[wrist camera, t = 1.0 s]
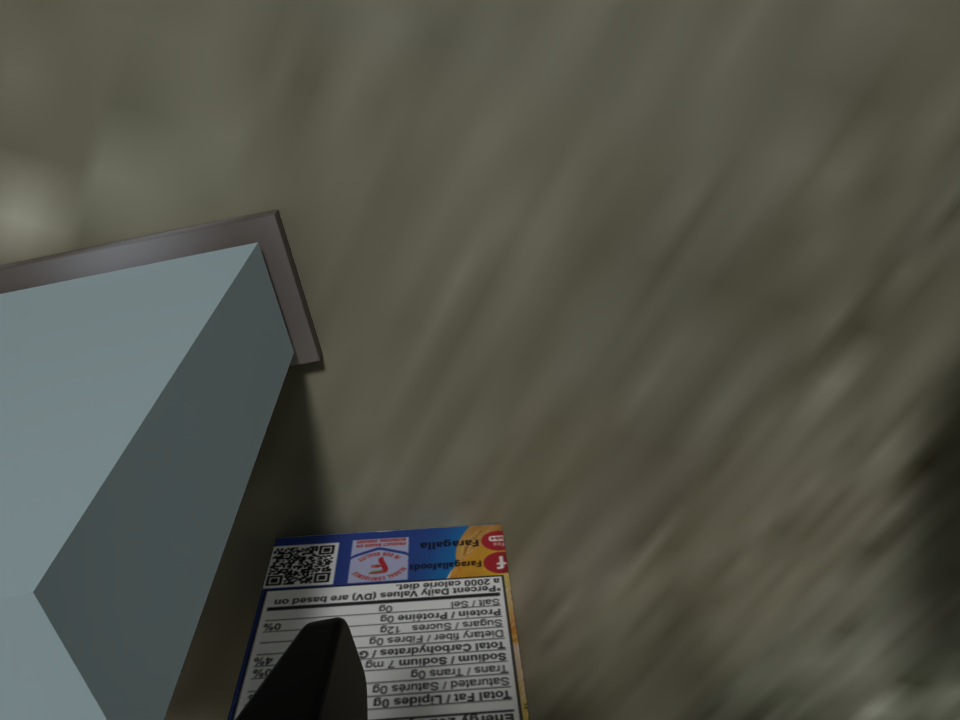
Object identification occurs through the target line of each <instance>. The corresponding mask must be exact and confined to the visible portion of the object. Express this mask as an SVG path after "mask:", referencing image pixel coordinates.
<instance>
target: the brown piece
mask: <svg viewBox="0 0 960 720" xmlns="http://www.w3.org/2000/svg"><path fill="white" fill-rule="evenodd" d="M257 242H258V243H259V246H260V249H261V252H262V255H263V258H264V262H265V265H266V268H267V271H268V274H269V277H270V280H271V283H272V286H273V289H274V292H275V295H276V298H277V301H278V305H279V308H280V311H281V314H282V317H283V320H284V323H285V326H286V329H287V332H288V335H289V338H290V341H291V344H292V348H293V351H294V354H293V357H292V359H291V362H290V365H289V367H290V366H295V365H300V364H305V363H310V362H315V361H320V358H321V354H322V351H321V348H320V345H319V341H318V338H317V335H316V332H315V328H314V325H313V322H312V319H311V315H310V312H309V309H308V306H307V302H306V299H305V296H304V293H303V289H302V286H301V283H300V280H299V276H298V273H297V270H296V267H295V263H294V260H293V257H292V254H291V250H290V247H289V244H288V241H287V237H286V234H285V231H284V228H283V224H282V221H281V218H280V215H279V211H278V210H273V211H268V212H263V213H258V214H253V215H248V216H243V217H238V218H233V219H228V220H223V221H218V222H213V223H208V224H203V225H198V226H193V227H189V228H184V229H179V230H174V231H169V232H164V233H159V234H154V235H149V236H144V237H139V238H134V239H129V240H124V241H119V242H114V243H109V244H104V245H99V246H94V247H89V248H85V249H80V250H75V251H70V252H65V253H60V254H55V255H50V256H45V257H40V258H35V259H30V260H25V261H20V262H15V263H10V264H5V265H0V294H3V293H8V292H13V291H18V290H23V289H28V288H33V287H38V286H43V285H48V284H53V283H58V282H63V281H68V280H73V279H78V278H83V277H88V276H93V275H98V274H103V273H108V272H113V271H118V270H123V269H127V268H132V267H137V266H142V265H147V264H152V263H157V262H162V261H167V260H172V259H177V258H182V257H187V256H192V255H197V254H202V253H207V252H212V251H217V250H222V249H227V248H232V247H237V246H242V245H247V244H252V243H257Z"/></svg>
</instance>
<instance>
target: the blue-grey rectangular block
mask: <svg viewBox="0 0 960 720" xmlns="http://www.w3.org/2000/svg"><path fill="white" fill-rule="evenodd" d="M293 354H294V351H293V348H292V344H291V341H290V338H289V335H288V332H287V329H286V326H285V323H284V320H283V317H282V314H281V311H280V308H279V305H278V301H277V298H276V295H275V292H274V289H273V286H272V283H271V280H270V277H269V274H268V271H267V268H266V265H265V262H264V258H263V255H262V252H261V249H260V246H259V243H258V242H257V243H252V244H247V245H242V246H237V247H232V248H227V249H222V250H217V251H212V252H207V253H202V254H197V255H192V256H187V257H182V258H177V259H172V260H167V261H162V262H157V263H152V264H147V265H142V266H137V267H132V268H127V269H123V270H118V271H113V272H108V273H103V274H98V275H93V276H88V277H83V278H78V279H73V280H68V281H63V282H58V283H53V284H48V285H43V286H38V287H33V288H28V289H23V290H18V291H13V292H8V293H3V294H0V720H164V718H165V715H166V712H167V709H168V706H169V704H170V701H171V698H172V695H173V692H174V689H175V687H176V684H177V681H178V678H179V675H180V673H181V670H182V667H183V664H184V661H185V658H186V656H187V653H188V650H189V647H190V644H191V641H192V639H193V636H194V633H195V630H196V627H197V625H198V622H199V619H200V616H201V613H202V610H203V608H204V605H205V602H206V599H207V596H208V594H209V591H210V588H211V585H212V582H213V579H214V577H215V574H216V571H217V568H218V565H219V563H220V560H221V557H222V554H223V551H224V548H225V546H226V543H227V540H228V537H229V534H230V532H231V529H232V526H233V523H234V520H235V517H236V515H237V512H238V509H239V506H240V503H241V500H242V498H243V495H244V492H245V489H246V486H247V484H248V481H249V478H250V475H251V472H252V469H253V467H254V464H255V461H256V458H257V455H258V453H259V450H260V447H261V444H262V441H263V438H264V436H265V433H266V430H267V427H268V424H269V422H270V419H271V416H272V413H273V410H274V407H275V405H276V402H277V399H278V396H279V393H280V391H281V388H282V385H283V382H284V379H285V376H286V374H287V371H288V368H289V365H290V362H291V359H292V357H293Z"/></svg>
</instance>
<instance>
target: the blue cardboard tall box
mask: <svg viewBox="0 0 960 720" xmlns="http://www.w3.org/2000/svg"><path fill="white" fill-rule="evenodd" d="M335 617H340V618H343V619H345V621H346V622H347V624H348V626H349V628H350V631H351V634H352V637H353V640H354V643H355V645H356V648H357V651H358V654H359V657H360V660H361V663H362V666H363V669H364V672H365V677H366V683H367V706H368V720H529V715H528V707H527V700H526V693H525V686H524V679H523V672H522V665H521V658H520V651H519V644H518V637H517V630H516V623H515V616H514V608H513V601H512V594H511V587H510V580H509V573H508V566H507V559H506V552H505V545H504V538H503V531H502V524H487V525H471V526H455V527H438V528H422V529H406V530H390V531H373V532H357V533H341V534H324V535H308V536H292V537H277V538H276V541H275V544H274V548H273V552H272V555H271V559H270V563H269V567H268V570H267V574H266V578H265V582H264V585H263V589H262V593H261V597H260V600H259V604H258V608H257V611H256V615H255V619H254V623H253V626H252V630H251V634H250V638H249V641H248V645H247V649H246V652H245V656H244V660H243V664H242V667H241V671H240V675H239V679H238V682H237V686H236V690H235V693H234V697H233V701H232V705H231V708H230V712H229V716H228V720H235V719H236V717H237V716H238V715H239V713H240V712H241V711H242V709H243V708H244V707H245V705H246V704H247V702H248V701H249V700H250V698H251V697H252V696H253V694H254V693H255V692H256V690H257V689H258V687H259V686H260V685H261V683H262V682H263V681H264V679H265V678H266V677H267V675H268V674H269V672H270V671H271V670H272V668H273V667H274V666H275V664H276V663H277V662H278V660H279V659H280V657H281V656H282V655H283V653H284V652H285V651H286V649H287V648H288V647H289V645H290V644H291V642H292V641H293V640H294V638H295V637H296V636H297V634H298V633H299V632H300V630H301V629H302V628H303V627H304V626H305V625H306V624H308V623H310V622H314V621H319V620H325V619H330V618H335Z"/></svg>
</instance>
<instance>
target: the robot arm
mask: <svg viewBox="0 0 960 720" xmlns="http://www.w3.org/2000/svg"><path fill="white" fill-rule="evenodd" d="M235 720H368V706H367V683H366V677H365V672H364V669H363V666H362V663H361V660H360V657H359V654H358V651H357V648H356V645H355V643H354V640H353V637H352V634H351V631H350V628H349V626H348V624H347V622H346V621H345V619H343V618H340V617H335V618H330V619H325V620H319V621H314V622H310V623H308V624H306V625H305V626H304V627H303V628H302V629H301V630H300V632H299V633H298V634H297V636H296V637H295V638H294V640H293V641H292V642H291V644H290V645H289V647H288V648H287V649H286V651H285V652H284V653H283V655H282V656H281V657H280V659H279V660H278V662H277V663H276V664H275V666H274V667H273V668H272V670H271V671H270V672H269V674H268V675H267V677H266V678H265V679H264V681H263V682H262V683H261V685H260V686H259V687H258V689H257V690H256V692H255V693H254V694H253V696H252V697H251V698H250V700H249V701H248V702H247V704H246V705H245V707H244V708H243V709H242V711H241V712H240V713H239V715H238V716H237V717H236V719H235Z"/></svg>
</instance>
